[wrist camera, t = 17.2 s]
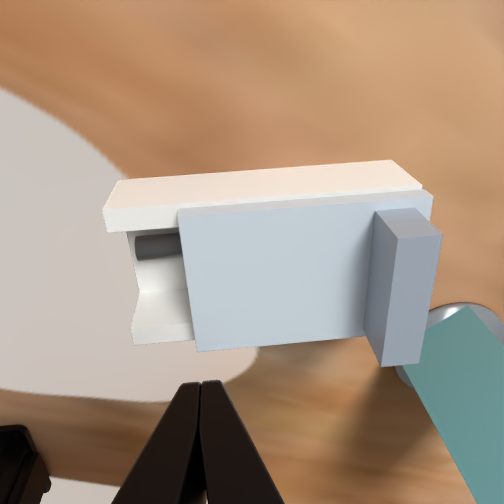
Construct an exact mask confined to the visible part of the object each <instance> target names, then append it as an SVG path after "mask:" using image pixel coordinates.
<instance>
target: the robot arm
mask: <svg viewBox="0 0 504 504" xmlns="http://www.w3.org/2000/svg"><path fill="white" fill-rule="evenodd" d="M50 487H51V481H50V478H49V474H48V472H47V470H46V468H45V466H44V463H43V461H42V459H41V457H40V454H39V453H38V452H37V450H36V448H35V445H34V443H33V441H32V439H31V437H30V434H29V432H28V430H27V428H26V427H24V426H22V425H10V426H0V504H40V501H41V498H42V495H43V493H47V492H48V491H49V490H50ZM206 498H207V500H208V504H285V503H284V501H283V499H282V497H281V496H280V494H279V492H278V490H277V488H276V486H275V484H274V482H273V480H272V478H271V476H270V474H269V472H268V470H267V469H266V467H265V465H264V463H263V461H262V459H261V457H260V455H259V453H258V451H257V449H256V447H255V445H254V443H253V442H252V440H251V438H250V436H249V434H248V432H247V430H246V428H245V426H244V424H243V422H242V420H241V418H240V416H239V415H238V413H237V411H236V409H235V407H234V405H233V403H232V401H231V399H230V397H229V395H228V393H227V391H226V389H225V388H224V386H223V384H222V382H221V381H220V380H210V381H203V382H202V384H201V383H200V382H189V383H183V384H182V385H181V386H180V387H179V389H178V391H177V392H176V394H175V395H174V397H173V399H172V401H171V402H170V404H169V406H168V407H167V409H166V411H165V413H164V414H163V416H162V418H161V419H160V421H159V423H158V425H157V426H156V428H155V430H154V431H153V433H152V435H151V436H150V438H149V440H148V442H147V443H146V445H145V447H144V448H143V450H142V452H141V454H140V455H139V457H138V459H137V460H136V462H135V464H134V465H133V467H132V469H131V471H130V472H129V474H128V476H127V477H126V479H125V481H124V483H123V484H122V486H121V488H120V489H119V491H118V493H117V495H116V496H115V498H114V500H113V501H112V503H111V504H206Z"/></svg>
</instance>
